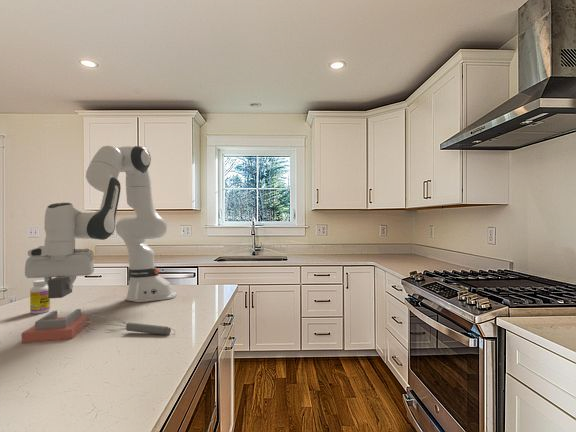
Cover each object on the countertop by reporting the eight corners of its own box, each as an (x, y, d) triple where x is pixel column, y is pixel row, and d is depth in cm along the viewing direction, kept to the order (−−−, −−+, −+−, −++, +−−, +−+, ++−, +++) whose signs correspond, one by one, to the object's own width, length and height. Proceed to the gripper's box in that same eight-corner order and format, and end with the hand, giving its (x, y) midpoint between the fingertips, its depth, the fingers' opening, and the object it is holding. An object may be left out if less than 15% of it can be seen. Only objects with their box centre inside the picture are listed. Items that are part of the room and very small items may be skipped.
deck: (88, 323, 125) (88, 308, 125) (72, 338, 110) (71, 321, 110) (45, 326, 122) (45, 311, 122) (21, 342, 107) (21, 325, 106)
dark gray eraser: (72, 292, 123) (72, 275, 124) (61, 297, 115) (61, 279, 115) (59, 292, 123) (59, 276, 123) (48, 298, 114) (48, 280, 114)
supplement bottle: (39, 314, 138) (39, 282, 138) (26, 313, 139) (25, 282, 139) (54, 310, 145) (53, 279, 144) (41, 309, 146) (40, 279, 146)
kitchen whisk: (170, 338, 109) (170, 318, 109) (76, 335, 114) (76, 316, 114) (179, 332, 115) (179, 313, 115) (89, 329, 120) (89, 311, 120)
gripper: (96, 247, 124) (96, 286, 124) (31, 249, 119) (31, 289, 119) (90, 249, 118) (90, 289, 118) (22, 251, 113) (22, 293, 113)
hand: (60, 289), depth 119 cm, fingers closed on dark gray eraser, 4 cm apart
